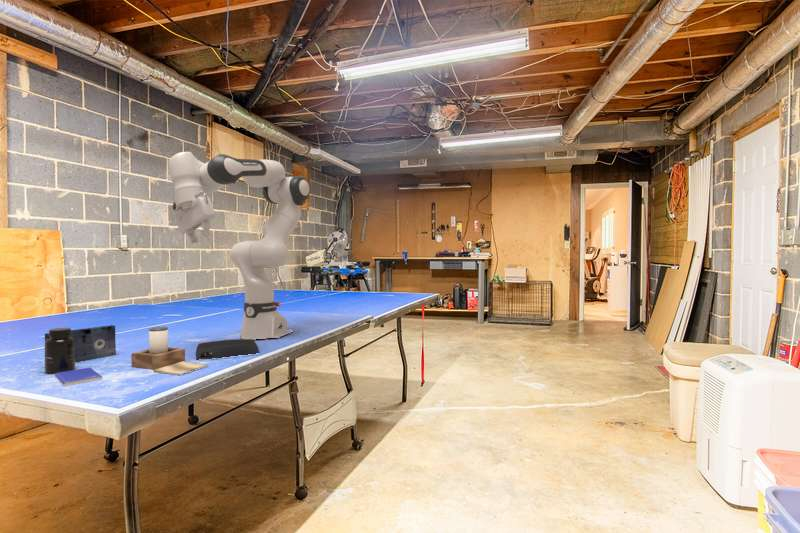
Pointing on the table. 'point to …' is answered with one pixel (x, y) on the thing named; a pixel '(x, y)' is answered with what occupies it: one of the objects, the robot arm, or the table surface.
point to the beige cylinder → (158, 340)
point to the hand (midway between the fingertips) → (200, 239)
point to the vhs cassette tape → (93, 342)
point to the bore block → (157, 358)
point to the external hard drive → (226, 348)
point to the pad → (180, 368)
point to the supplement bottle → (59, 351)
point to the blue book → (77, 376)
